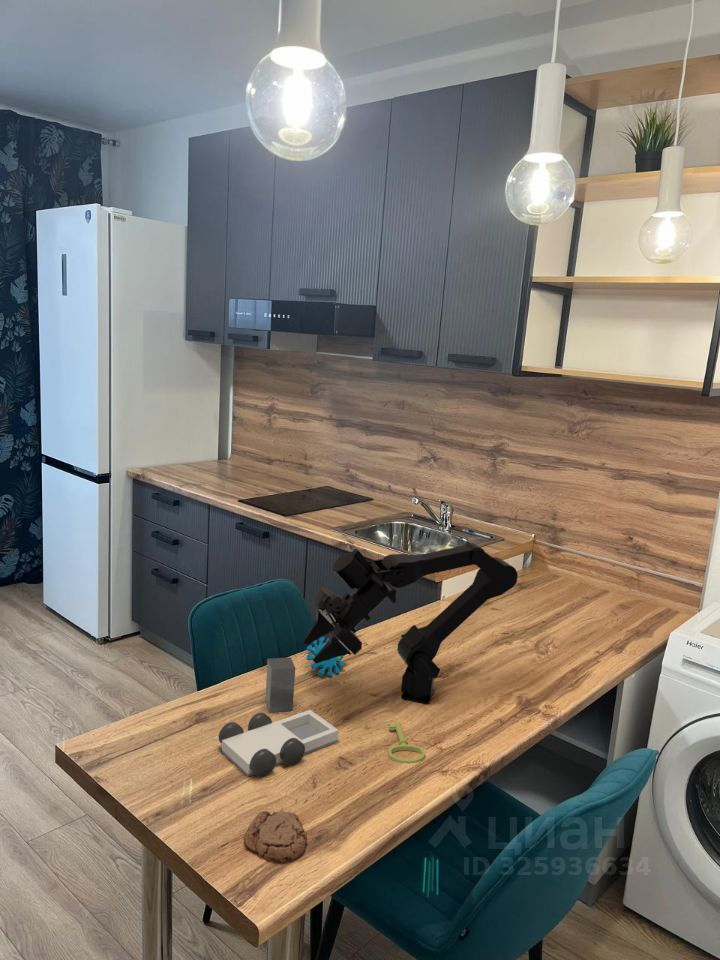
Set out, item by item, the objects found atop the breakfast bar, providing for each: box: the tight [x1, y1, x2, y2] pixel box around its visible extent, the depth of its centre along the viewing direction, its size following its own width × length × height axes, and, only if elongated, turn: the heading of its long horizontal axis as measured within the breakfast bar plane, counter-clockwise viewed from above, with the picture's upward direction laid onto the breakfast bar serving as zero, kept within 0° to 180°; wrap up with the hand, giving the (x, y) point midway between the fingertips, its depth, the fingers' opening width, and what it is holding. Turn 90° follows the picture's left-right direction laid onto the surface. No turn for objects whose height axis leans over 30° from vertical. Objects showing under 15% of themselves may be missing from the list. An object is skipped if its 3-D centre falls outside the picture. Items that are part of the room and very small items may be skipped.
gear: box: [305, 636, 346, 678], centre depth 175 cm, size 11×6×10 cm
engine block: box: [265, 657, 296, 714], centre depth 155 cm, size 5×5×10 cm
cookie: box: [243, 810, 308, 864], centre depth 115 cm, size 10×11×3 cm
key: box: [387, 721, 426, 764], centre depth 144 cm, size 7×12×2 cm, turn 26°
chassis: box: [218, 709, 339, 778], centre depth 141 cm, size 21×13×5 cm, turn 131°
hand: (309, 652), depth 155 cm, fingers open, 9 cm apart
